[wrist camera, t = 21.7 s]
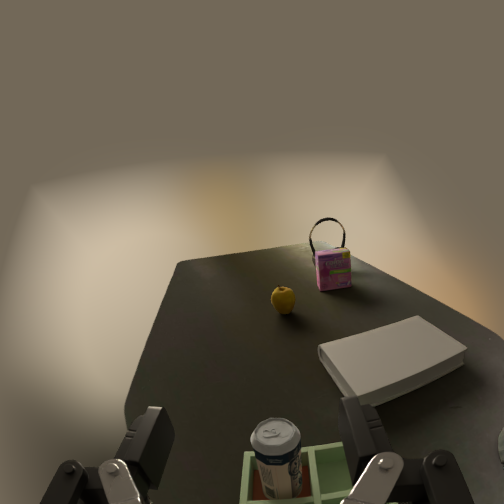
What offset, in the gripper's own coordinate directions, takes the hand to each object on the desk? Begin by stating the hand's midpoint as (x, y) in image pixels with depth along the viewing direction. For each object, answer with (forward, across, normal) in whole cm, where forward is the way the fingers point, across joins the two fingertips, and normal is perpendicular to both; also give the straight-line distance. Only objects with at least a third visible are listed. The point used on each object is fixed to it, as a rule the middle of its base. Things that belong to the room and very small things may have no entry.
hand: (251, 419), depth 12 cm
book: (+34, -22, +25) cm, 48 cm away
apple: (+64, -3, +25) cm, 69 cm away
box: (+79, -20, +25) cm, 85 cm away
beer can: (+10, 0, +24) cm, 26 cm away
